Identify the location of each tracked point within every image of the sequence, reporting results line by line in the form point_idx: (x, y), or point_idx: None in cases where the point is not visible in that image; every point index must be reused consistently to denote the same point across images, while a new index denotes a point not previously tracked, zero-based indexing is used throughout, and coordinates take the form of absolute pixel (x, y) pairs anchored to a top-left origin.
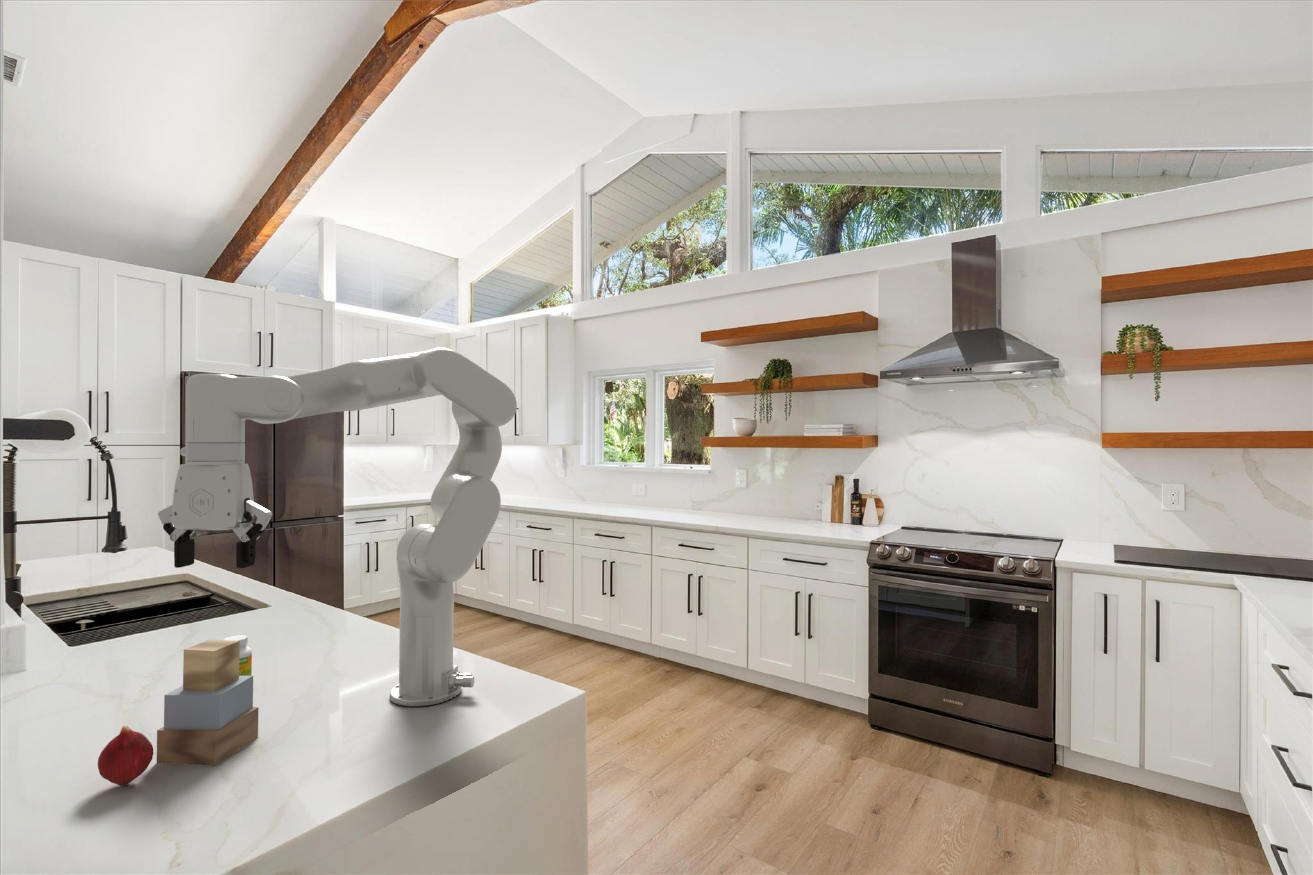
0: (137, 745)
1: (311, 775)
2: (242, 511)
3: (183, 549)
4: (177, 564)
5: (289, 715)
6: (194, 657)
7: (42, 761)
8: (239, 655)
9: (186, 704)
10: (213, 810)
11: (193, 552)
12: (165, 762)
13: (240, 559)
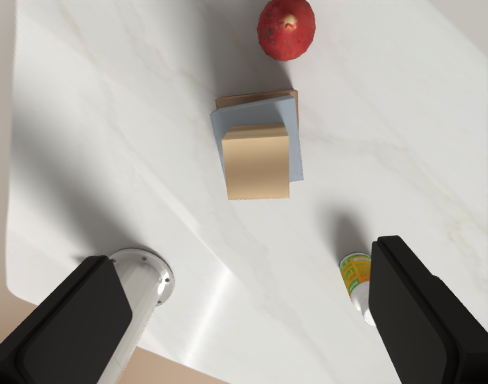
0: (264, 21)
1: (105, 98)
2: None
3: (411, 325)
4: (385, 241)
5: (239, 215)
6: (265, 134)
7: (442, 64)
8: (357, 290)
9: (260, 103)
10: (138, 7)
11: (390, 351)
12: (282, 90)
13: (66, 279)
